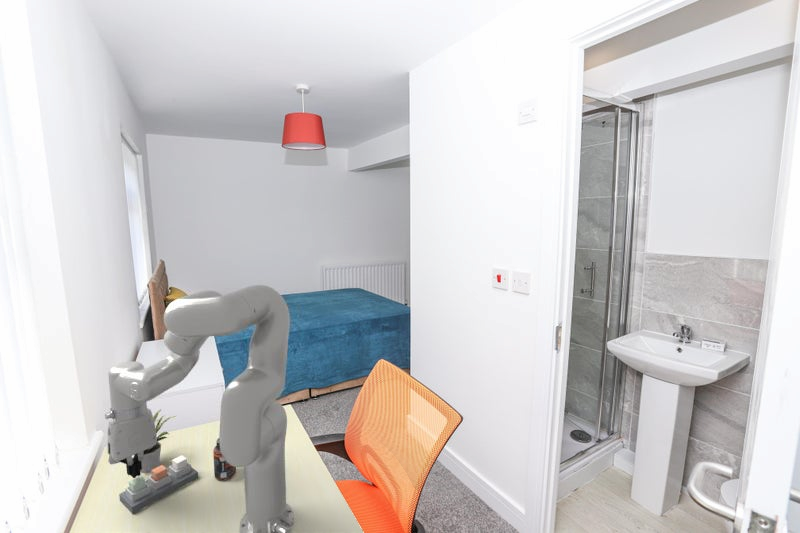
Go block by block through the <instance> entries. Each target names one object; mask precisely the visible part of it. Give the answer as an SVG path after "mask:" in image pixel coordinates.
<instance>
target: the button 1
mask: <svg viewBox="0 0 800 533" xmlns="http://www.w3.org/2000/svg"><path fill="white" fill-rule="evenodd" d="M145 481H146V479H145V478H144V476H142V474H141V475H140V476H136V478H132V479H130V480H129V481H128V485H129V486H128V487H129V489H130V491H131V492H132V493H135V492H137V491H139V490H141V489H143V488H145V487H146V484H145Z"/></svg>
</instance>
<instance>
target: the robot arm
mask: <svg viewBox="0 0 800 533" xmlns="http://www.w3.org/2000/svg"><path fill="white" fill-rule="evenodd" d="M290 318H291V316H290V310H289V307H288V305H287V302H286V300H285V298H283V296H282V295H281V294H280V293H279V292H278V291H277V290H275V289H274V288H273V287H270V286H268V285H264V284H255V285H250V286H246V287H243V288H241V289H238V290H235V291H233V292H230V293H227V294H224V295H222V294H221V293H220V292H217V291H215V290H214V291H213V290H201V291H198V292H194V293H191V294H189V295H185V296H182V297H178V298H176V299H174V300H173V301H172V302H170V303H169V304H168V306H167V307H166V309H165V311H164V314H163V323H164V326H165V329H166V330H167V331H165V333H164V335H163V343H164V345H165V347H166V348H167V349H168V351H170V352H169V354H168V355H167V356H166V357H165V358H164V359H162V360H159V361H158V362H156V363H153V364H151V365H149V366H148V367H144V365H143V363H141V362H139V361H124V362H121V363H117V364H114V365H113V366H112V367H111V368H110V369H109V371H108V376H107V377H108V385H109V388H108V389H109V398H110V408H109V410H110V411H109V412H108V413H105V414H104V416H105V420H109V421H108V425H107V436H106V437H107V439H106V440H107V441H106V447H107V453H108V460H107V462H108V463H109V464H110V465H115V464H119V463H121V464H125V467H126V474H127V475H128V476H130V477H131V478H132V479H134V478H136V477H138V476H140V475H141V476H142V473H141V472H140V470H142V462H141V460H143V456H144V455H145V453H146V452H147V451H148V449H150V448H152V447H154V446H155V445H156V442H157V437H158V436H157V433H156V424H155V423H156V422H155V423H154V419H153V417H154V415H153V413H152V409H150V408H148V404H147V403H148V402H149V401H152V400H154V399H155V398H157V397H159V396H160V395H162V394H163V393H165V392H167V391H168V390H170V389H171V388H173V387H175V386H177V385H179V384H180V383H181V382H182V381H184V380H185V379H186V377H188V375H189V374H190V373H191V372H192V370H193V369H194V367H195V366H196V365H197V363H198V362H199V360H200V359H199V358H200V354H201V353H200V350H201V348H202V346H203V345H204V344H205V342H206V341H207V340H208V338H209V337H220V336H221V337H222V336H230V335H234V334H238V333H239V332H242V331H244V330H246V329H248V328H250V327H252V326H254V329H253V333H252V335H251V337H250V340H249V341H250V342H249V345H248V346H249V347H248V359H247V366H246V367H245V370H244V371H243V372H241V373H240V374H239V375H238V376H236V377H234V379H232V380H231V382H229V384H228V385H227V386H226V387H225V389H224V391H223V394H222V397H221V402H220V403H221V404H220V416H219V417H220V419H219V436H218V438H219V445H220V451H221V454H222V456H223V458H224V459H225V460H226V462H227V463H229V464H230V465H232V466H234V467H236V468H243V478H244V481H243V482H244V493H245V494H244V496H245V497H244V498H245V513H244V514H243V516H242V518H241V520H240V523H239V530H240V531H239V532H240V533H291V529H290V528H292V527H294V525H295V521H294V511H293V508H292V506H290V504H288V503H287V490H286V489H287V487H286V486H287V485H286V455H285V454H286V452H285V451H286V450H285V448H286V437H287V428H288V427H287V426H288V417H287V412H286V410H285V407H284V406H283V405H282V404H281V403H280V402H279V401H277V398H279V397H280V396H281V394H282V392H284V389H285V386H286V375H287V374H286V373H287V361H288V360H287V359H288V344H289V336H290V328H291V327H290V326H291V325H290V324H291V319H290Z"/></svg>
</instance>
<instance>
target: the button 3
mask: <svg viewBox="0 0 800 533" xmlns="http://www.w3.org/2000/svg"><path fill="white" fill-rule="evenodd" d="M171 462H172V465H173V469H175V470H176V471H178V470H180V469H182V468H184V467H186V466H187V462H188V458H186V457H185V456H184V455H183V454H181V455H179V456H178V457H174V459H171Z"/></svg>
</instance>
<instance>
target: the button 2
mask: <svg viewBox="0 0 800 533" xmlns="http://www.w3.org/2000/svg"><path fill="white" fill-rule="evenodd" d="M167 470H168V469H167V467H165V466H164V465H162V464H161V465H159V466H158V467H157V468H155V469H153V470H151V472H150V473H151V475H152V479H153V480H154V481H156V482H157V481H159V480H161V479H162V478H164V477H166V476H167Z"/></svg>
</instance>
